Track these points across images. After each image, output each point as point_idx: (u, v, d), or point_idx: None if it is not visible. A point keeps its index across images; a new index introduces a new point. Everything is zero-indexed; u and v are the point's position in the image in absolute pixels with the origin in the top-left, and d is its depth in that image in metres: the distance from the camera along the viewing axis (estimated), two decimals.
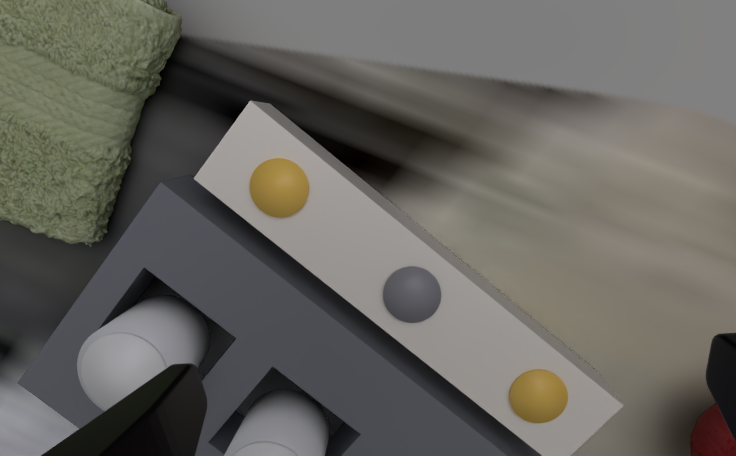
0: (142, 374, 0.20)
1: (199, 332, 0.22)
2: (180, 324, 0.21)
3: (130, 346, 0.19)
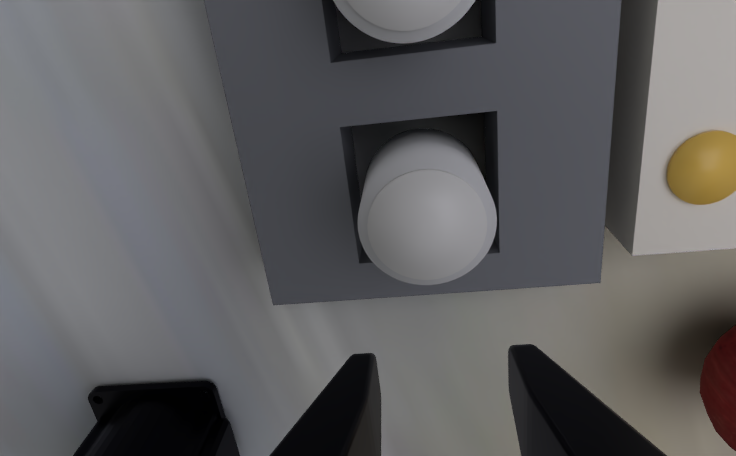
0: None
1: None
2: None
3: None
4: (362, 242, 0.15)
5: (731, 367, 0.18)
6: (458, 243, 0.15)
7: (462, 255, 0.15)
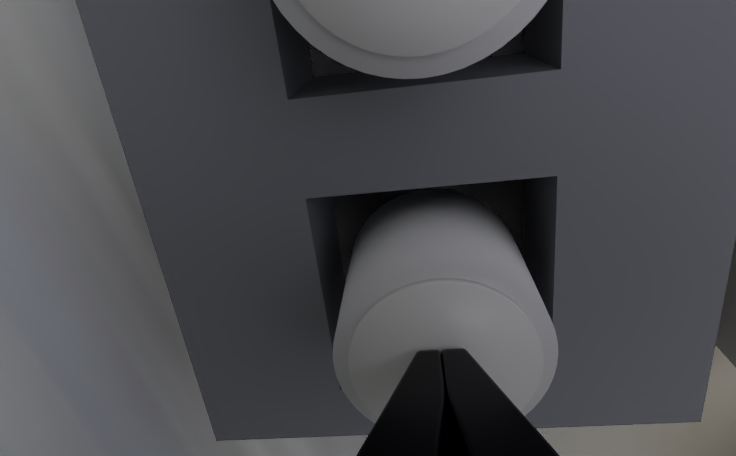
0: None
1: None
2: None
3: None
4: (341, 382, 0.10)
5: None
6: None
7: None
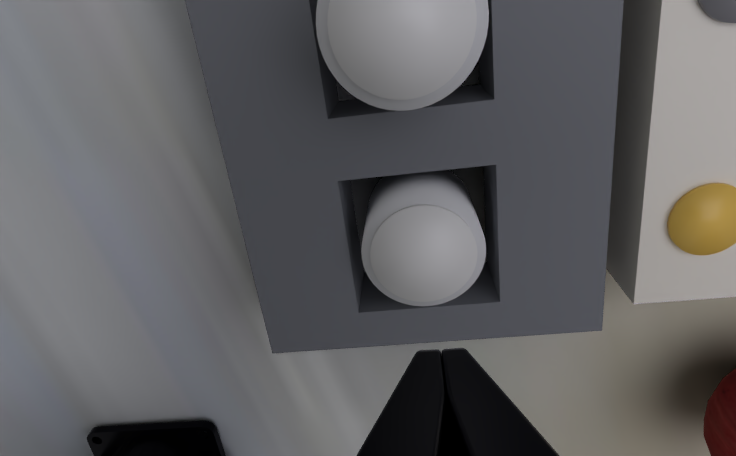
0: None
1: None
2: None
3: None
4: (365, 268, 0.17)
5: (735, 414, 0.18)
6: (452, 269, 0.16)
7: (455, 280, 0.17)
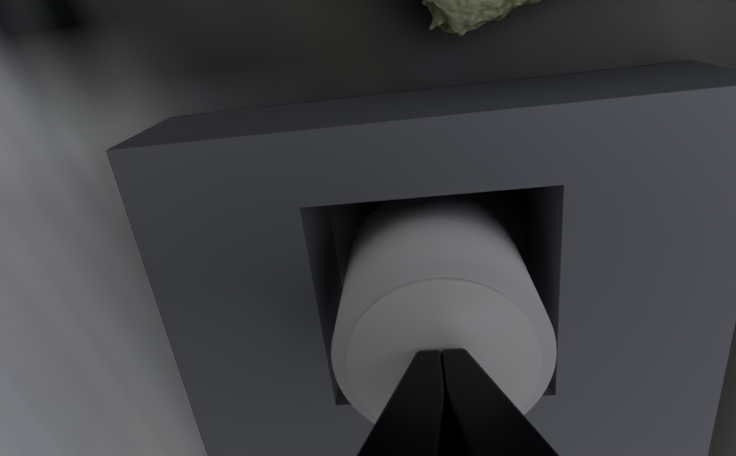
0: None
1: None
2: None
3: (512, 341, 0.09)
4: None
5: None
6: None
7: None
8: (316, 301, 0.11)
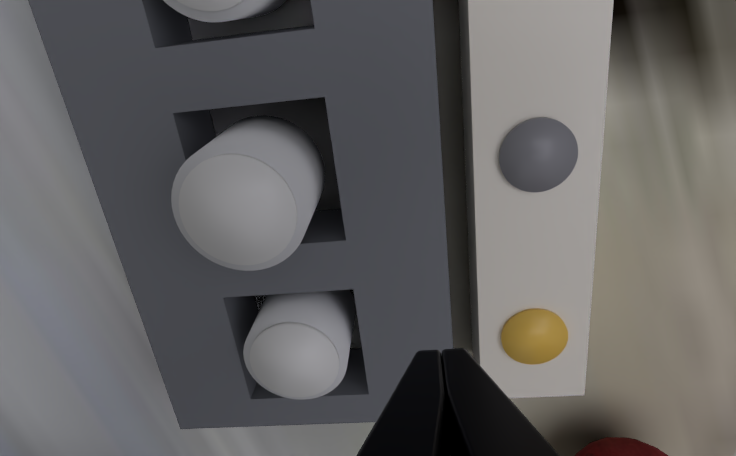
0: None
1: None
2: None
3: None
4: (248, 369, 0.20)
5: None
6: (319, 373, 0.19)
7: (323, 381, 0.20)
8: None
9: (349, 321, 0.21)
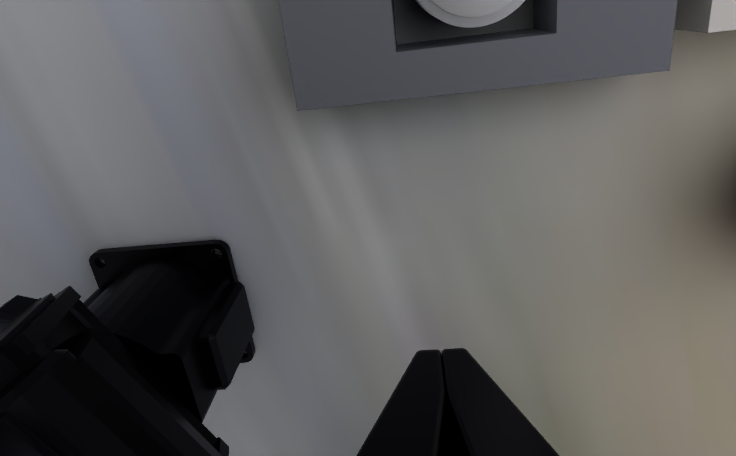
0: None
1: None
2: None
3: None
4: None
5: None
6: None
7: None
8: None
9: None
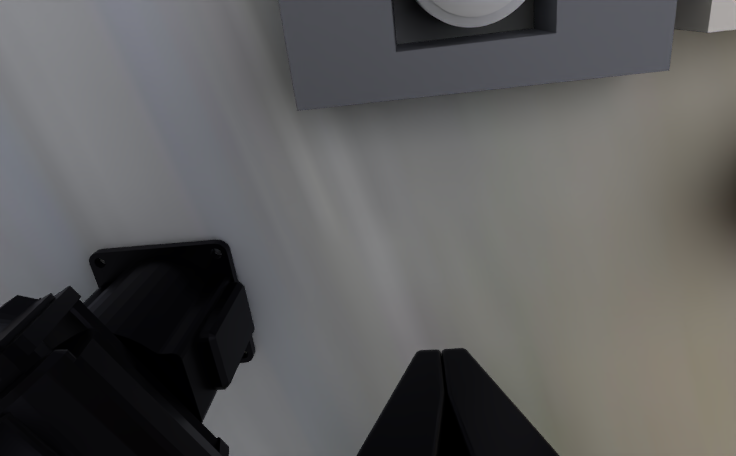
0: None
1: None
2: None
3: None
4: None
5: None
6: None
7: None
8: None
9: None
